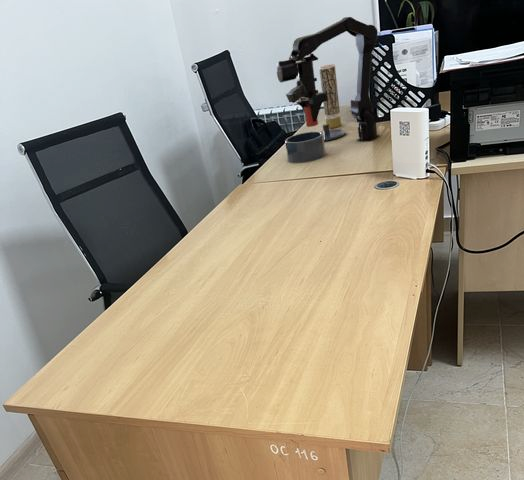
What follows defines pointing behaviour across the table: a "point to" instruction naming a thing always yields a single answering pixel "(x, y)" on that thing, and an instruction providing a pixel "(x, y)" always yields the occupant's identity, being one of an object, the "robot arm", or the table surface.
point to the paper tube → (330, 95)
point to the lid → (331, 133)
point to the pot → (305, 147)
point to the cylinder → (309, 117)
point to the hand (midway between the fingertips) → (311, 121)
